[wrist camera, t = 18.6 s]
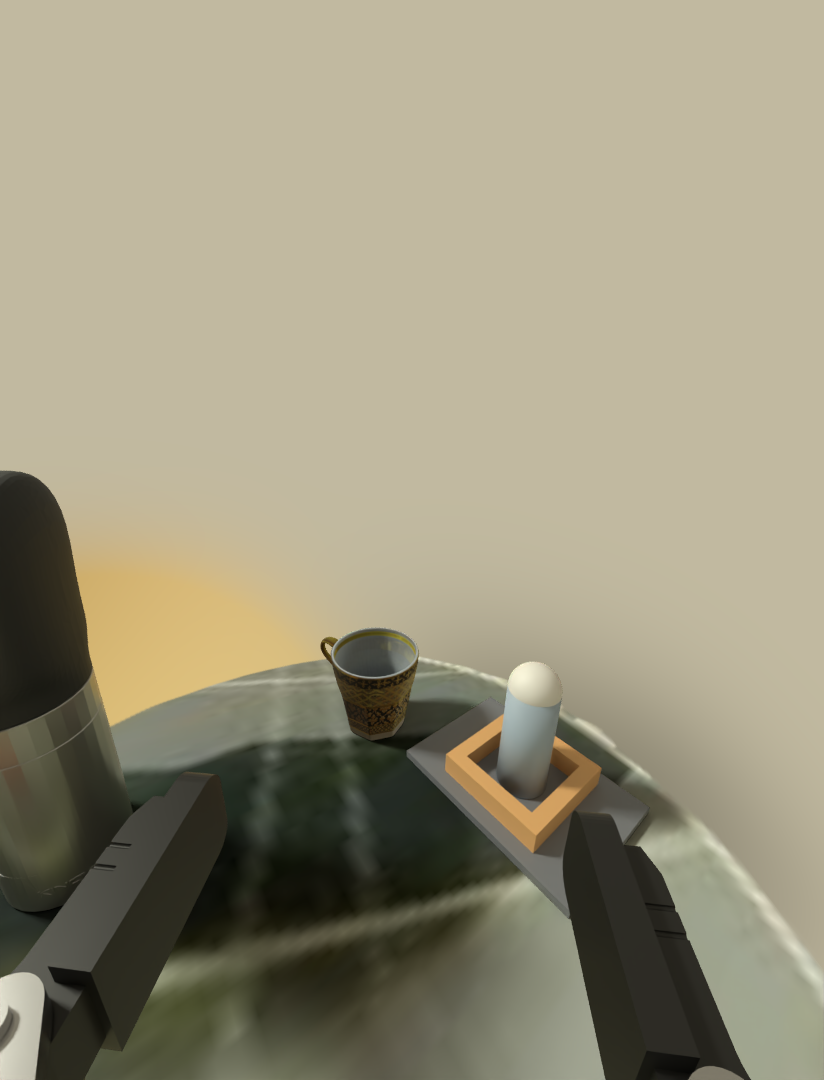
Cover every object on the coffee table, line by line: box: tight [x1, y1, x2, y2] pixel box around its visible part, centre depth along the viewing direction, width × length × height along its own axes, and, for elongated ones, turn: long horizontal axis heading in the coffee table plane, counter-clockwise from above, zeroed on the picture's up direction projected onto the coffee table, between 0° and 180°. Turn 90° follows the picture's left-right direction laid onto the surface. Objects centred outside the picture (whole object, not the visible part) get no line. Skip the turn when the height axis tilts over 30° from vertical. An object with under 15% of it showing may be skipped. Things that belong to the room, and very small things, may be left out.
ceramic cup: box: [321, 628, 419, 741], centre depth 53 cm, size 13×10×10 cm
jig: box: [407, 697, 650, 918], centre depth 45 cm, size 20×14×3 cm
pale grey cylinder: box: [496, 662, 563, 799], centre depth 43 cm, size 5×5×14 cm
